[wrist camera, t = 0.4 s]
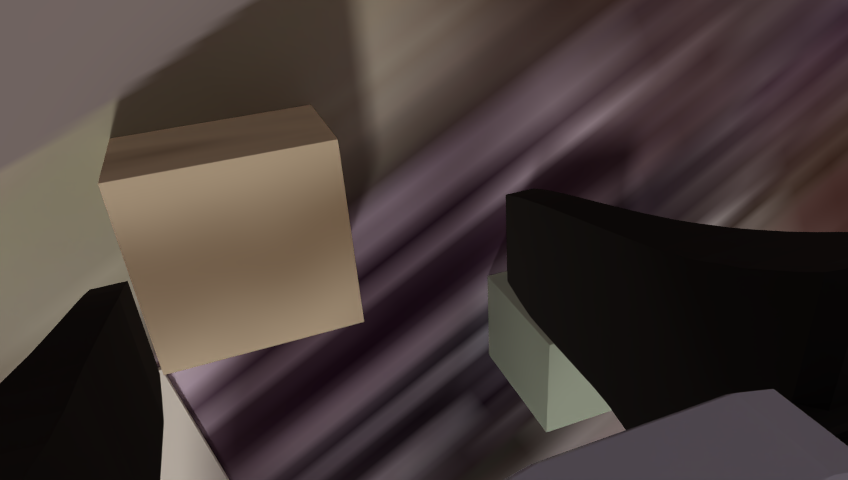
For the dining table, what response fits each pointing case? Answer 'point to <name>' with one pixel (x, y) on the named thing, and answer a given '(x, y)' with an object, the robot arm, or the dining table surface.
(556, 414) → the sage brick
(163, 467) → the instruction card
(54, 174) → the dining table surface
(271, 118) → the beech base brick
